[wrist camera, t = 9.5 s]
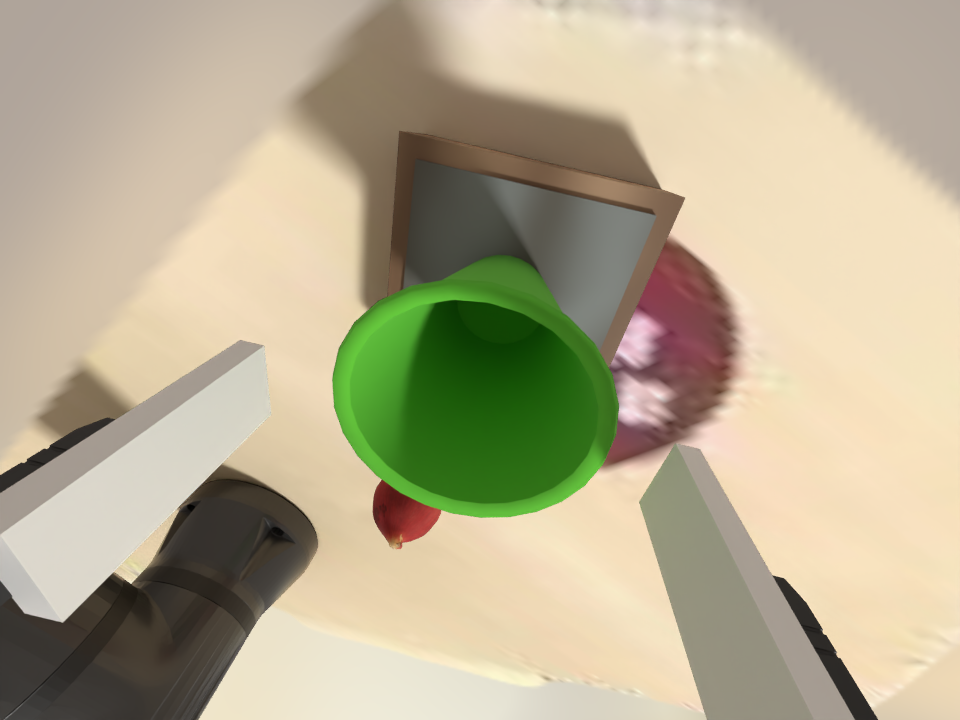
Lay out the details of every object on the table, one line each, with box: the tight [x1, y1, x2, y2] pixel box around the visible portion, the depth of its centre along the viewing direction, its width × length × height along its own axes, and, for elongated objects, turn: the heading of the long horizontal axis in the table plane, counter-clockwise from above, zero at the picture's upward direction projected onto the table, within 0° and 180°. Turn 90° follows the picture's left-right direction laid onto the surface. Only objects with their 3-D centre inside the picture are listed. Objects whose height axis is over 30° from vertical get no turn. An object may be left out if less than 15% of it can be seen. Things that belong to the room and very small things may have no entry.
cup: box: [332, 255, 619, 518], centre depth 16 cm, size 9×9×11 cm
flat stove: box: [387, 131, 685, 367], centre depth 23 cm, size 14×14×4 cm
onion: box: [373, 480, 441, 549], centre depth 32 cm, size 6×6×8 cm
